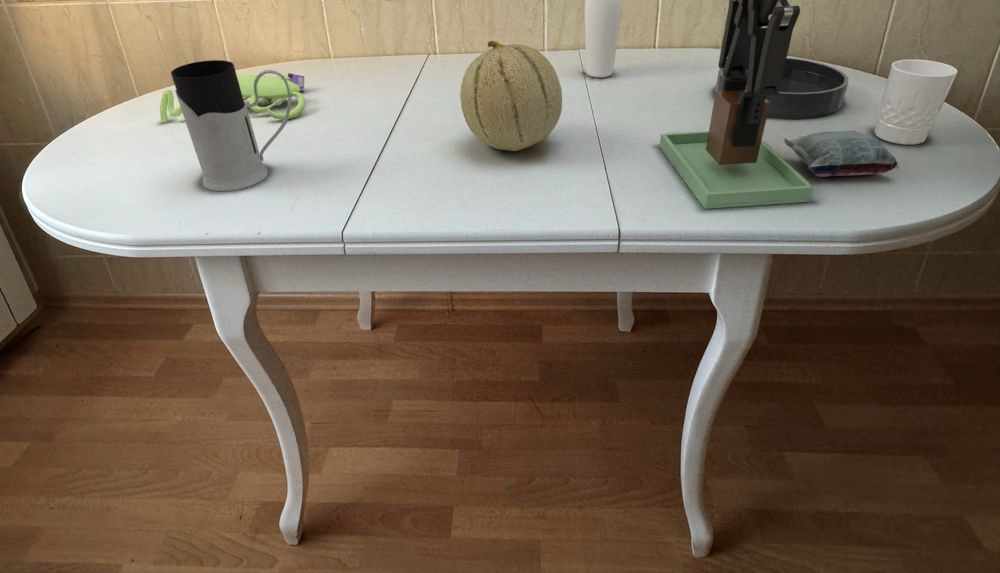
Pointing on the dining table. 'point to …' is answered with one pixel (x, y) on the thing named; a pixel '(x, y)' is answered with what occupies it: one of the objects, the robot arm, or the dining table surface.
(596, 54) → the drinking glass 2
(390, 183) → the dining table surface
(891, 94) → the white cup
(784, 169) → the tray
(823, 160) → the grey bean bag
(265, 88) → the green coiled cable
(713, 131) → the block
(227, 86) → the glass holder
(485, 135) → the cantaloupe
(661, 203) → the dining table surface
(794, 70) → the pan
